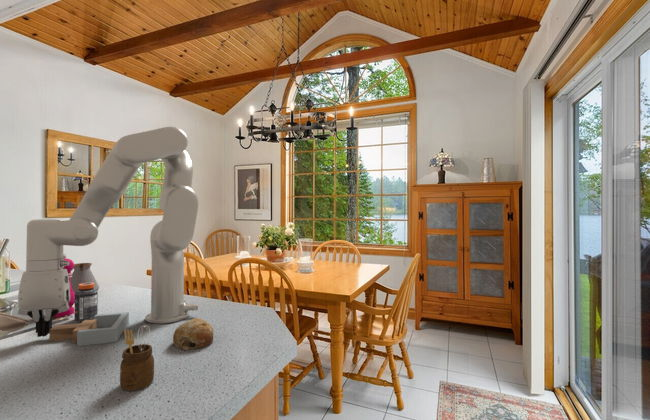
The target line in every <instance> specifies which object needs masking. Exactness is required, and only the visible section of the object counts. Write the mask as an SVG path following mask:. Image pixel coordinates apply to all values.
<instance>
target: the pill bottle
mask: <svg viewBox="0 0 650 420" xmlns="http://www.w3.org/2000/svg"><path fill="white" fill-rule="evenodd" d="M78 289H79V290H78V291H77V292H76V293H75V303H74V306H73V307H74V313H73V314H74V317H73V319H74V322H75V323H76V322H78V323H82V322H83V321H84V320H93V319H94V317H95V315H98V310H99V309H98V303H99V302H98V301H99V300H98V299H99V298H98V297H99V296H98V293H99V292H98V291H97V290H96V289H94V283H82V284H79V287H78Z"/></svg>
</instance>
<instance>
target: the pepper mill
mask: <svg viewBox="0 0 650 420" xmlns="http://www.w3.org/2000/svg"><path fill="white" fill-rule="evenodd" d="M63 258H64V260H66V261H69V266H64V268H63V269H67V272H68V276H69V283H70V302H69V303H68V305H69V309H68V310H67V311H65V312H61V313H58V314H57V315H55V316H54V317H53V318H62V317H67V316H66V315H68V316H71V315H73V314H74V309H75V308H74V306H73V305H75V293H74V291H73V290H72V287H71V282H70V280H71V277H72V273H73V272H72V271H74V264H75V263H74V261H73V260H72V259H70V258H67V255H66V254H65V253H63Z"/></svg>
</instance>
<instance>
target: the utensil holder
mask: <svg viewBox="0 0 650 420" xmlns="http://www.w3.org/2000/svg"><path fill="white" fill-rule="evenodd" d="M142 328H147V329H149V333H148V335H151V329H150V328H151V327H150V326H149V325H141V326H140V327H139V328H138V331H137V335H136V336H137V337H136V338H139V334H140V332H141V334H140V338H142V334H143V332H144V330H143V329H142ZM140 329H141V330H140ZM123 333H124V341H125V345H128V347H127V348H125V349H124V350H123V352H122V356H121V357H122V359H121V362H120V367H119V368H120V370H119V385H120V386H119V387H120V388H121V390H123V391H125V390H126V391H125V392H133V391H134V392H135V391H139V390H142V389H145V388H147V387H149V386H150V385H151V384H152V383H153V381H154V378H155V358H154V355H153V347H152V345H150V344H148V343H149V341H150V338H151V336H148V337H147V333H145V336H144V337H145V339H147V338H148V339H147V340H144V342H143V343H144V344H143V343H142V341H139V340H137V341H136V342H137V344H135V340H134V334H133V329H127V330H126V329H124V331H123ZM146 342H147V343H146ZM134 344H135V345H134Z"/></svg>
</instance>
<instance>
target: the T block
mask: <svg viewBox="0 0 650 420" xmlns="http://www.w3.org/2000/svg"><path fill="white" fill-rule="evenodd" d="M88 329H98V328H97V319H93V320H84V321H83V322H80V323H74V324H73V323H72V324H71V323H70V324H61V325H53V326H52V328H51V329H50V333H49V334H48V335H49V338H48V339H49V342H55V341H65V340H72V341H71V342H72V343H73V344H74V343H77V332H78V331H79V330H88Z"/></svg>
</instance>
